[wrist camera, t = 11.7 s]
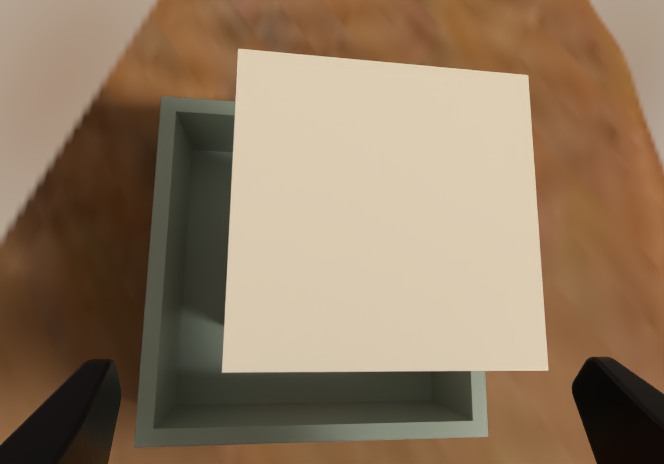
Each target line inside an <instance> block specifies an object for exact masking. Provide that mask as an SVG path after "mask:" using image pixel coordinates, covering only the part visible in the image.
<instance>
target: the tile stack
mask: <svg viewBox="0 0 664 464" xmlns="http://www.w3.org/2000/svg"><path fill="white" fill-rule="evenodd" d="M538 370H548V358H547V344H546V329H545V314H544V300H543V285H542V271H541V256H540V242H539V227H538V213H537V198H536V184H535V169H534V154H533V140H532V125H531V111H530V96H529V82H528V75H520V74H509V73H498V72H487V71H476V70H465V69H454V68H443V67H432V66H421V65H410V64H399V63H389V62H378V61H367V60H356V59H345V58H334V57H323V56H312V55H301V54H290V53H279V52H268V51H258V50H247V49H238V64H237V84H236V103H235V123H234V143H233V163H232V183H231V203H230V222H229V242H228V262H227V282H226V302H225V322H224V341H223V361H222V373H232V372H385V371H538Z"/></svg>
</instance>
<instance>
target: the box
mask: <svg viewBox="0 0 664 464" xmlns="http://www.w3.org/2000/svg"><path fill="white" fill-rule="evenodd" d="M235 103H236V102H234V101H220V100H207V99H193V98H180V97H166V96H161V108H160V121H159V134H158V146H157V159H156V172H155V185H154V197H153V210H152V223H151V236H150V248H149V261H148V274H147V287H146V299H145V312H144V325H143V338H142V350H141V363H140V376H139V389H138V402H137V414H136V427H135V440H134V447H166V446H199V445H232V444H265V443H298V442H331V441H363V440H396V439H429V438H462V437H488V424H487V402H486V381H485V371H385V372H232V373H222V361H223V341H224V322H225V302H226V282H227V262H228V242H229V222H230V203H231V183H232V163H233V143H234V123H235Z"/></svg>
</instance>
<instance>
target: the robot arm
mask: <svg viewBox="0 0 664 464" xmlns="http://www.w3.org/2000/svg"><path fill="white" fill-rule="evenodd" d="M572 394H573V397H574V400H575V403H576V406H577V408H578V411H579V414H580V417H581V420H582V423H583V426H584V428H585V431H586V434H587V437H588V440H589V443H590V446H591V448H592V451H593V454H594V457H595V460H596V462H597V464H664V394H663V393H662V392H660V391H659V390H657V389H656V388H654V387H653V386H652V385H650V384H649V383H647V382H646V381H644V380H643V379H642V378H640V377H639V376H637V375H636V374H634V373H633V372H632V371H630V370H629V369H627V368H626V367H624V366H623V365H622V364H620V363H619V362H617V361H616V360H614V359H612V358H610V357H590V358H589V359H587V360H586V362H585V363H584V365H583V366H582V368H581V370H580V371H579V373H578V375H577V376H576V378H575V379H574V381H573V384H572ZM120 401H121V388H120V383H119V379H118V374H117V370H116V365H115V363H114V361H113V360H110V359H92V360H88V361H86V362H85V363H84V364H83V365H82V366H81V367H80V368H78V369H77V370H76V371H75V372H74V373H73V374H72V375H71V376H70V377H69V378H68V379H67V380H66V381H65V382H64V383H63V384H62V385H61V386H60V387H59V388H58V389H57V390H56V391H55V392H54V393H53V394H52V395H51V396H50V397H49V398H48V399H47V400H46V401H45V402H44V403H43V404H42V405H41V406H40V407H39V408H38V409H37V410H36V411H35V412H34V413H33V414H32V415H31V416H30V417H29V418H28V419H27V420H26V421H25V422H24V423H23V424H22V425H21V426H20V427H19V428H18V429H16V430H15V431H14V432H13V433H12V434H11V435H10V436H9V437H8V438H7V439H6V440H5V441H4V442H3V443H2V444H1V445H0V464H108V461H109V456H110V451H111V446H112V441H113V436H114V431H115V426H116V421H117V416H118V411H119V406H120Z"/></svg>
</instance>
